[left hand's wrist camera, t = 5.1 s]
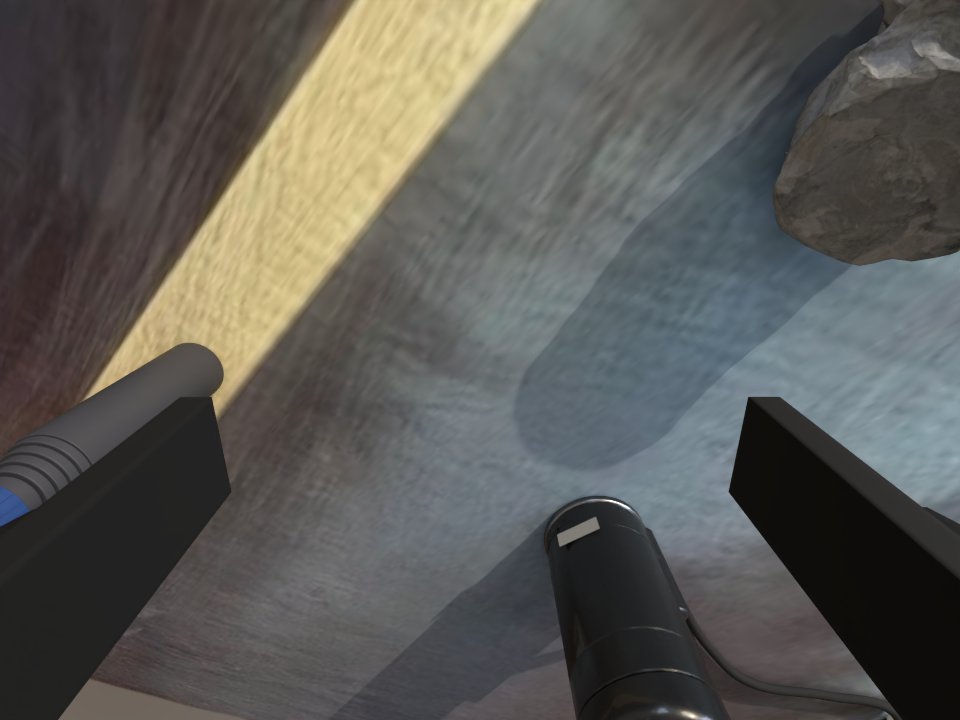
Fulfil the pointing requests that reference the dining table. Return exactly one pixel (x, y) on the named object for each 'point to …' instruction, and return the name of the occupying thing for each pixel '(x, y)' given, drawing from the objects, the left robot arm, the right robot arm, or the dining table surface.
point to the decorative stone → (881, 145)
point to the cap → (10, 506)
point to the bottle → (105, 422)
